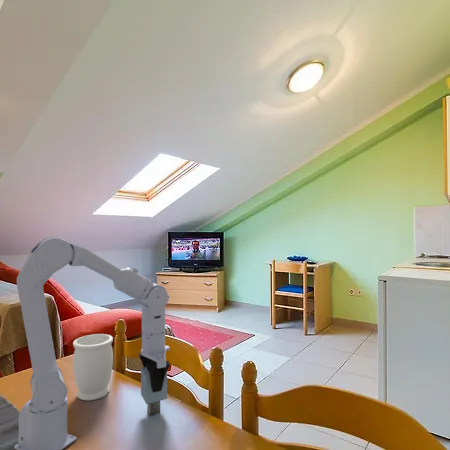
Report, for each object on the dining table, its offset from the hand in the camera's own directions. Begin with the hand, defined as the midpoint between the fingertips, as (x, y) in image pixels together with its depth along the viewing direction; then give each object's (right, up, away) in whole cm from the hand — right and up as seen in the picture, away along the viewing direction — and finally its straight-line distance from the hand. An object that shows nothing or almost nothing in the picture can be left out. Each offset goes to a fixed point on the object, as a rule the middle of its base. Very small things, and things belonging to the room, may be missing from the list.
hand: (153, 386), depth 83 cm
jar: (-19, -7, +9) cm, 22 cm away
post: (0, -7, 0) cm, 6 cm away
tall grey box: (0, -3, 0) cm, 3 cm away
